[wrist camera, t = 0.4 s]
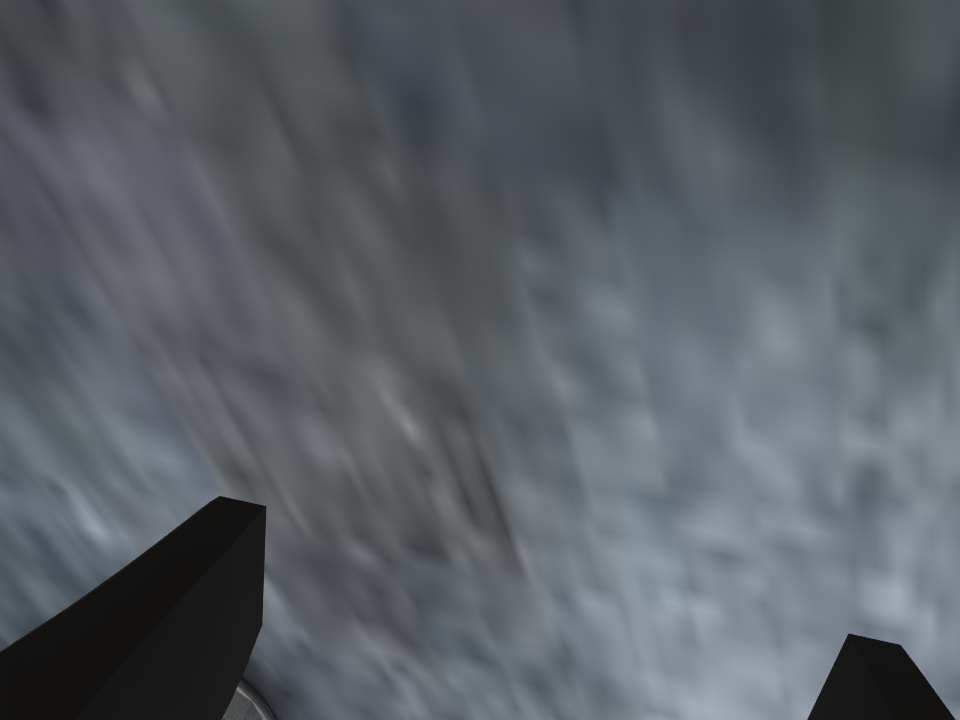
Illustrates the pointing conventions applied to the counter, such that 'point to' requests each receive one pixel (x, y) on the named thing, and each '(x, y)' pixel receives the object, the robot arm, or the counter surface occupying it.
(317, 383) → the counter surface
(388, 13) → the counter surface
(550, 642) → the counter surface
